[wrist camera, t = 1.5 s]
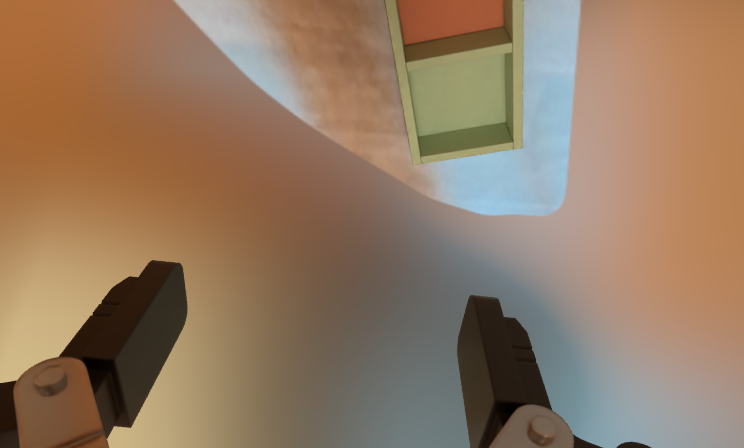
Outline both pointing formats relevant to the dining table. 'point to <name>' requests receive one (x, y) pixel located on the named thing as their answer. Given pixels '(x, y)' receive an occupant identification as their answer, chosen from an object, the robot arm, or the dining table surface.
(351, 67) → the dining table surface
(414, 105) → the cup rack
